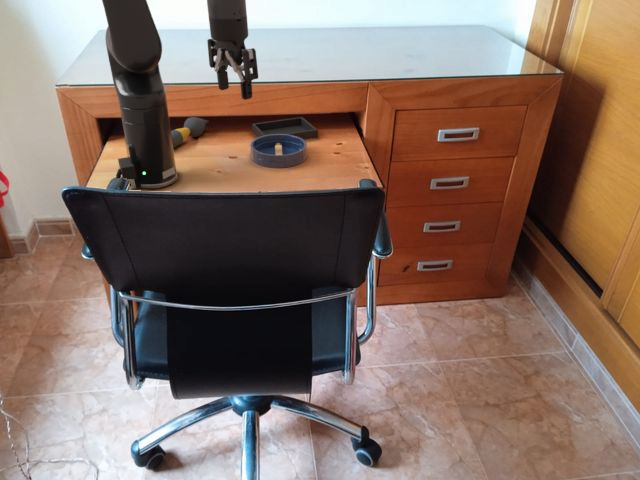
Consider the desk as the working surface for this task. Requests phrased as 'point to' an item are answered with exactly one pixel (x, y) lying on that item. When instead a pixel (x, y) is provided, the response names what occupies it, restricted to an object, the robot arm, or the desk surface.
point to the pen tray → (286, 128)
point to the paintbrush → (188, 130)
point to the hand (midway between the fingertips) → (235, 93)
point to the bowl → (291, 150)
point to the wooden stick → (278, 149)
